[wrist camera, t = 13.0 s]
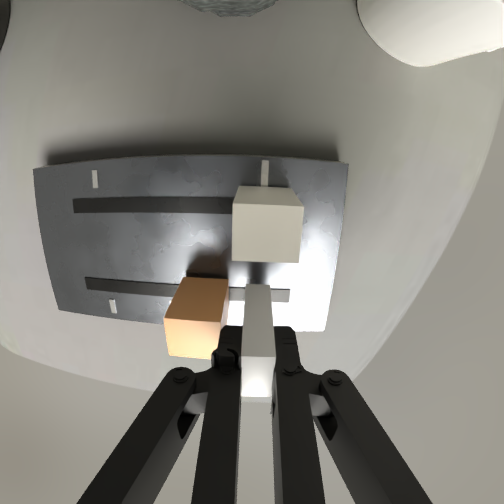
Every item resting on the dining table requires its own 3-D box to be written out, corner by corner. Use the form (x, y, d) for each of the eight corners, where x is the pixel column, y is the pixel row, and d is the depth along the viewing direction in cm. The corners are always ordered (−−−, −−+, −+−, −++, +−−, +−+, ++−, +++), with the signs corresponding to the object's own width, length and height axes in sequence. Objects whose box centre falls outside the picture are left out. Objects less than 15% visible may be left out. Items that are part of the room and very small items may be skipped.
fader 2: (238, 228, 18) (231, 260, 13) (239, 185, 17) (232, 203, 12) (288, 230, 18) (298, 263, 13) (291, 188, 17) (304, 206, 12)
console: (69, 298, 23) (58, 310, 21) (48, 165, 18) (32, 169, 16) (319, 316, 23) (324, 331, 21) (339, 161, 18) (349, 163, 16)
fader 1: (185, 310, 20) (169, 355, 15) (183, 276, 19) (163, 318, 14) (228, 312, 20) (221, 360, 15) (228, 279, 19) (220, 322, 14)
